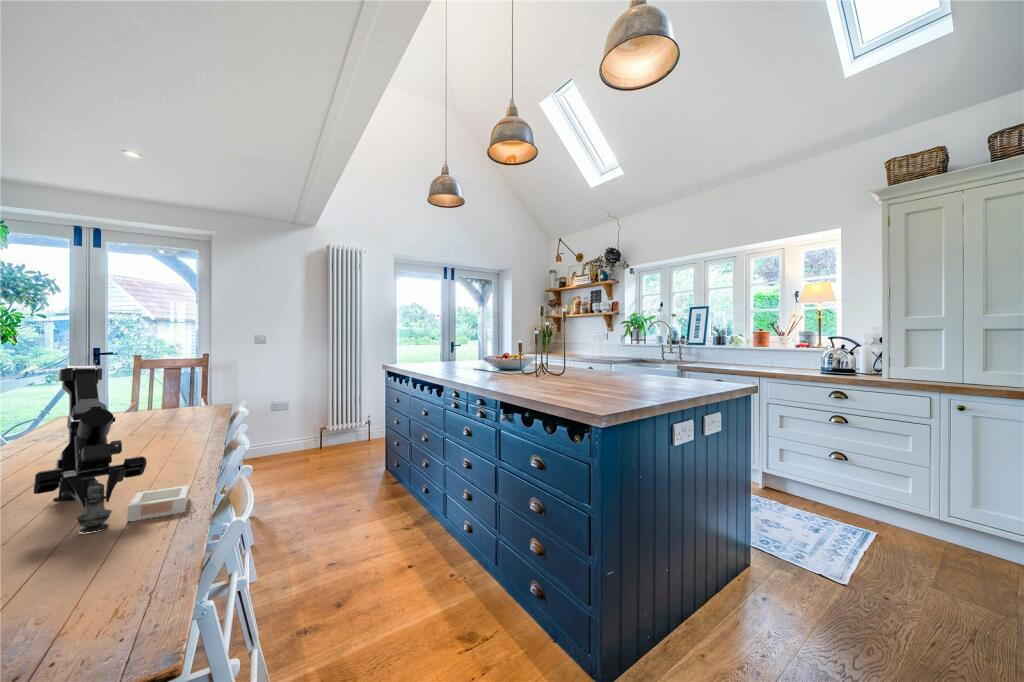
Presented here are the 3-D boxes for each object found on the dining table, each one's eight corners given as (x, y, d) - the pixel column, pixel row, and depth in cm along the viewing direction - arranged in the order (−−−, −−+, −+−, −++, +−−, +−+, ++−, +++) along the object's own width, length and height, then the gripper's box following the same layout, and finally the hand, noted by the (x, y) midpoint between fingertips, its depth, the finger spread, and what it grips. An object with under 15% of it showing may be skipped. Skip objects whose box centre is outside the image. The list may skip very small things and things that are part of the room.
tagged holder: (126, 522, 96) (127, 507, 96) (136, 507, 106) (137, 492, 106) (184, 512, 103) (185, 498, 103) (188, 498, 112) (189, 485, 112)
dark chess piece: (87, 536, 89) (90, 485, 90) (68, 533, 90) (71, 482, 91) (117, 525, 95) (120, 477, 95) (99, 522, 96) (102, 475, 96)
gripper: (37, 437, 88) (37, 497, 81) (147, 426, 103) (155, 475, 96) (33, 464, 92) (33, 523, 86) (138, 450, 108) (145, 498, 101)
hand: (96, 503), depth 92 cm, fingers closed on dark chess piece, 4 cm apart
